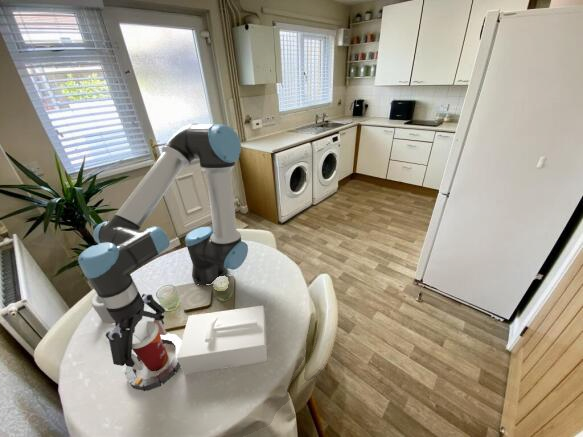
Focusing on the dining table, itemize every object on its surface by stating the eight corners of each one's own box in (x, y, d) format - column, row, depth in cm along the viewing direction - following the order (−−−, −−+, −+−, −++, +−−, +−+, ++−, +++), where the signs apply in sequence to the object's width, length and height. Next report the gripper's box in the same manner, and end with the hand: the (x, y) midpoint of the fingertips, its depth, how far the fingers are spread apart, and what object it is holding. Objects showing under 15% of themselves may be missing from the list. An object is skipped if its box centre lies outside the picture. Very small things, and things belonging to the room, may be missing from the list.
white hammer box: (195, 332, 85) (187, 311, 79) (265, 321, 87) (262, 300, 82) (184, 374, 72) (174, 353, 67) (267, 361, 75) (263, 339, 69)
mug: (110, 329, 87) (98, 310, 82) (97, 317, 92) (85, 298, 87) (146, 303, 97) (137, 285, 92) (132, 293, 102) (123, 275, 97)
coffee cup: (176, 360, 76) (161, 330, 69) (149, 381, 71) (130, 351, 63) (165, 344, 81) (150, 314, 74) (139, 363, 76) (120, 333, 68)
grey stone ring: (185, 332, 84) (183, 326, 83) (183, 377, 71) (180, 372, 70) (134, 348, 80) (131, 342, 79) (122, 399, 67) (118, 394, 65)
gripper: (141, 267, 72) (163, 317, 83) (67, 336, 53) (109, 389, 64) (163, 270, 71) (183, 319, 82) (95, 341, 51) (133, 394, 62)
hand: (151, 350), depth 73 cm, fingers open, 10 cm apart
